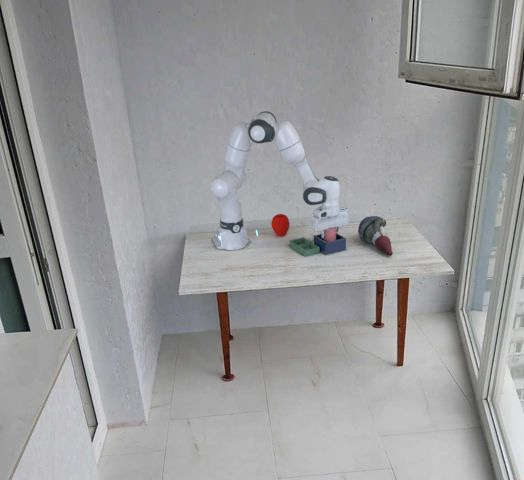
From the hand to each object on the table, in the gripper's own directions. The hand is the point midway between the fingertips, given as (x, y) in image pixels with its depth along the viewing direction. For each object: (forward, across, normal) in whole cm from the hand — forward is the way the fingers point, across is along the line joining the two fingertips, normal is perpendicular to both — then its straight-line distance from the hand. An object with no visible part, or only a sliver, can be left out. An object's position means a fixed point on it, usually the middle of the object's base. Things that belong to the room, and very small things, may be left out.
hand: (329, 236), depth 286 cm
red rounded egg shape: (+7, +13, -30) cm, 33 cm away
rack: (+7, +12, -6) cm, 15 cm away
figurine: (+7, -25, +11) cm, 28 cm away
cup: (+4, 0, 0) cm, 4 cm away
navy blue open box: (+7, 0, 0) cm, 7 cm away
